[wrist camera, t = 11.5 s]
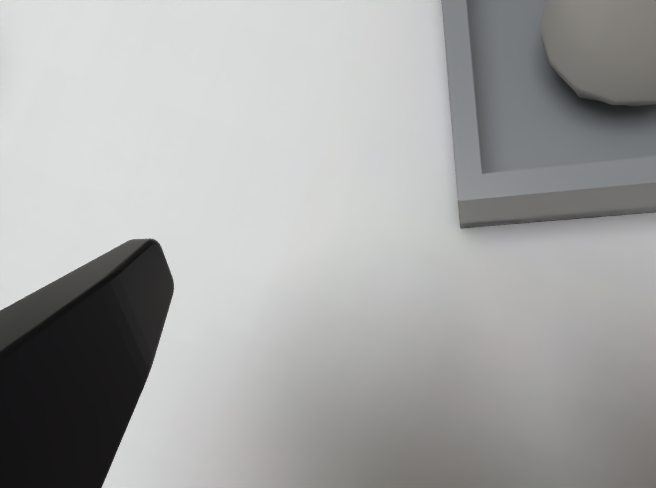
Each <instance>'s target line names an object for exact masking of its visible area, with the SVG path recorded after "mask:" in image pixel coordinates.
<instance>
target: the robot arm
mask: <svg viewBox="0 0 656 488" xmlns="http://www.w3.org/2000/svg"><path fill="white" fill-rule="evenodd" d="M173 291H174V282H173V278H172V275H171V272H170V269H169V267H168V264H167V261H166V259H165V256H164V253H163V250H162V248H161V246H160V244H159V243H158V241H156V240H154V239H133V240H129V241H127V242H125V243H124V244H122V245H120V246H118V247H116V248H114V249H113V250H111V251H109V252H107V253H105V254H103V255H102V256H100V257H98V258H96V259H94V260H92V261H91V262H89V263H87V264H85V265H83V266H81V267H80V268H78V269H76V270H74V271H72V272H70V273H69V274H67V275H65V276H63V277H61V278H59V279H58V280H56V281H54V282H52V283H50V284H48V285H47V286H45V287H43V288H41V289H39V290H37V291H36V292H34V293H32V294H30V295H28V296H26V297H25V298H23V299H21V300H19V301H17V302H15V303H14V304H12V305H10V306H8V307H6V308H4V309H3V310H1V311H0V488H102V485H103V483H104V481H105V478H106V476H107V473H108V471H109V469H110V466H111V464H112V462H113V459H114V457H115V454H116V452H117V450H118V447H119V445H120V443H121V440H122V438H123V435H124V433H125V431H126V428H127V426H128V423H129V421H130V419H131V416H132V414H133V412H134V409H135V407H136V404H137V402H138V400H139V397H140V395H141V392H142V390H143V388H144V385H145V383H146V380H147V378H148V375H149V372H150V370H151V367H152V364H153V361H154V357H155V354H156V351H157V347H158V344H159V340H160V337H161V334H162V330H163V327H164V323H165V320H166V317H167V313H168V310H169V306H170V303H171V300H172V296H173Z"/></svg>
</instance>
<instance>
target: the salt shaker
mask: <svg viewBox="0 0 656 488" xmlns="http://www.w3.org/2000/svg"><path fill="white" fill-rule="evenodd" d="M540 34H541V37H542V41H543V44H544V48H545V51H546V55H547V58H548V62H549V65H550V66H551V67H552V68H553V69H554V70H555V71H556V73H557V74H558V75H559V76H560V77H561V78H562V79H563V80H564V81H565V82H566V83H567V84H568V85H569V86H570V87H571V88H572V89H573V90H574V91H575V93H576V94H577V96H578V97H579V98H582V99H588V100H595V101H601V102H605V103H608V104H611V105H627V106H643V105H653V104H656V0H546V1H545V5H544V9H543V13H542V17H541V21H540Z"/></svg>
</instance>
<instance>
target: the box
mask: <svg viewBox="0 0 656 488" xmlns="http://www.w3.org/2000/svg"><path fill="white" fill-rule="evenodd" d="M545 1H546V0H442V11H443V23H444V36H445V48H446V60H447V73H448V85H449V97H450V110H451V122H452V134H453V147H454V159H455V171H456V184H457V196H458V207H459V218H460V228H470V227H482V226H494V225H506V224H518V223H530V222H542V221H554V220H566V219H578V218H590V217H602V216H614V215H626V214H638V213H650V212H656V104H653V105H643V106H627V105H611V104H608V103H605V102H601V101H595V100H588V99H582V98H579V97H578V96H577V94H576V93H575V91H574V90H573V89H572V88H571V87H570V86H569V85H568V84H567V83H566V82H565V81H564V80H563V79H562V78H561V77H560V76H559V75H558V74H557V73H556V71H555V70H554V69H553V68H552V67H551V66H550V65H549V62H548V58H547V55H546V51H545V48H544V44H543V41H542V37H541V34H540V21H541V17H542V13H543V9H544V5H545Z"/></svg>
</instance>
